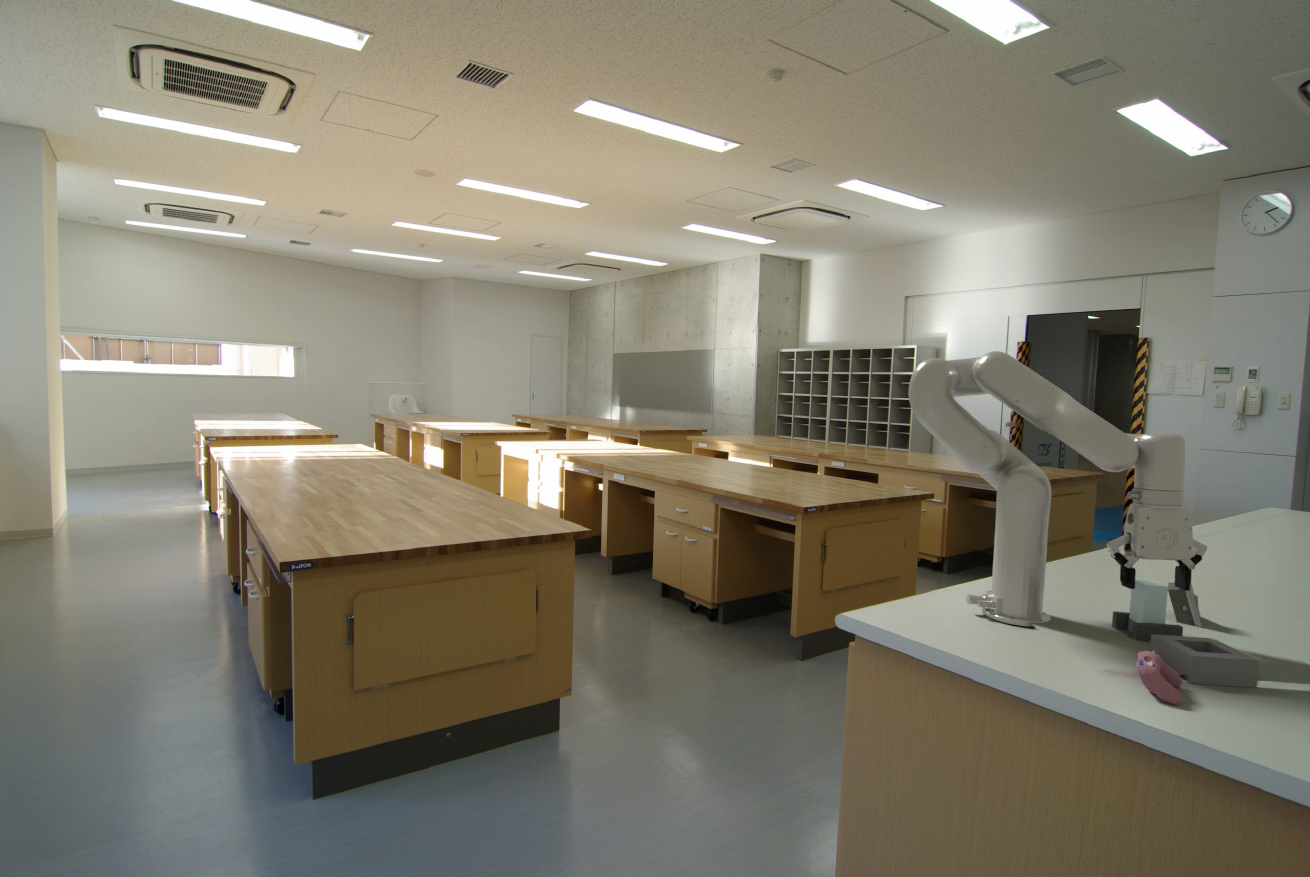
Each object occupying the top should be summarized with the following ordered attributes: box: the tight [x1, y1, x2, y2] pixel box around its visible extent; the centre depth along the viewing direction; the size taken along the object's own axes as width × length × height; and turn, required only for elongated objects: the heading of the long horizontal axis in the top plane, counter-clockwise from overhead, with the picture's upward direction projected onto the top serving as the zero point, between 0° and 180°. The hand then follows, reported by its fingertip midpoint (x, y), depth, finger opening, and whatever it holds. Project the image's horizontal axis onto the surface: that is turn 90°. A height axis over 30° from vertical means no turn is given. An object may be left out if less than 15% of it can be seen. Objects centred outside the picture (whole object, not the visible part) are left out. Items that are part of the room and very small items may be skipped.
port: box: [1149, 634, 1260, 689], centre depth 111 cm, size 10×10×5 cm
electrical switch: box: [1167, 581, 1203, 628], centre depth 138 cm, size 9×5×9 cm, turn 141°
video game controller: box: [1135, 650, 1183, 706], centre depth 103 cm, size 10×5×7 cm, turn 141°
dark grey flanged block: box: [1111, 611, 1184, 643], centre depth 127 cm, size 8×8×4 cm
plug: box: [1128, 579, 1169, 632], centre depth 127 cm, size 4×4×10 cm
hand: (1154, 587), depth 126 cm, fingers open, 9 cm apart
